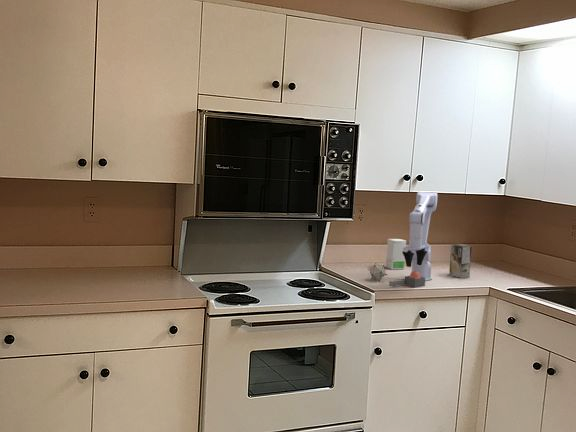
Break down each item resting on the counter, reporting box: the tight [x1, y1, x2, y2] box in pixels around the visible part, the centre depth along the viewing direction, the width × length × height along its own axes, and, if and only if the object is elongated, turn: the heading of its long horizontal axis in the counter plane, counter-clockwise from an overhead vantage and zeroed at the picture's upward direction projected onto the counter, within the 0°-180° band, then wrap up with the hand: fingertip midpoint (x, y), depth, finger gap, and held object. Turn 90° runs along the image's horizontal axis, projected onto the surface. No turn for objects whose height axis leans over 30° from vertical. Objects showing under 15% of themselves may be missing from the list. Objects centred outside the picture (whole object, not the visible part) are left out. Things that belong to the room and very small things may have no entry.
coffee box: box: [448, 243, 472, 279], centre depth 334 cm, size 9×6×16 cm
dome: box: [409, 271, 420, 279], centre depth 308 cm, size 5×5×5 cm
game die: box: [367, 262, 388, 282], centre depth 316 cm, size 9×8×10 cm
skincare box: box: [385, 238, 407, 270], centre depth 347 cm, size 8×7×16 cm
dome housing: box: [404, 275, 426, 288], centre depth 308 cm, size 7×7×4 cm
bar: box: [388, 279, 405, 287], centre depth 306 cm, size 9×1×2 cm, turn 126°
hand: (413, 265), depth 307 cm, fingers open, 7 cm apart
